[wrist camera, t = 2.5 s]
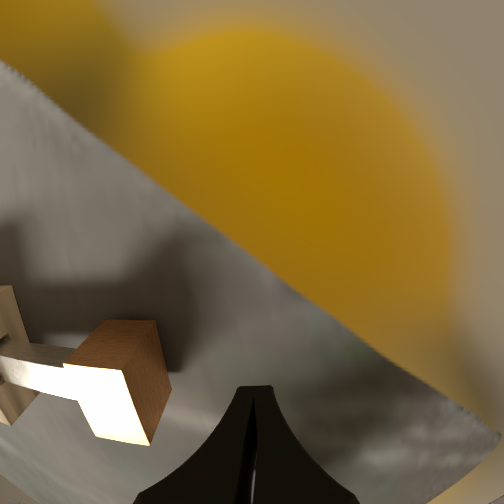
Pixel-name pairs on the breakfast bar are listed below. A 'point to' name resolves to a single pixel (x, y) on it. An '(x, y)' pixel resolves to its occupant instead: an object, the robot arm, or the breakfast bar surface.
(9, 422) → the block
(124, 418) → the shaft
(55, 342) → the breakfast bar surface
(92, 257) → the breakfast bar surface
